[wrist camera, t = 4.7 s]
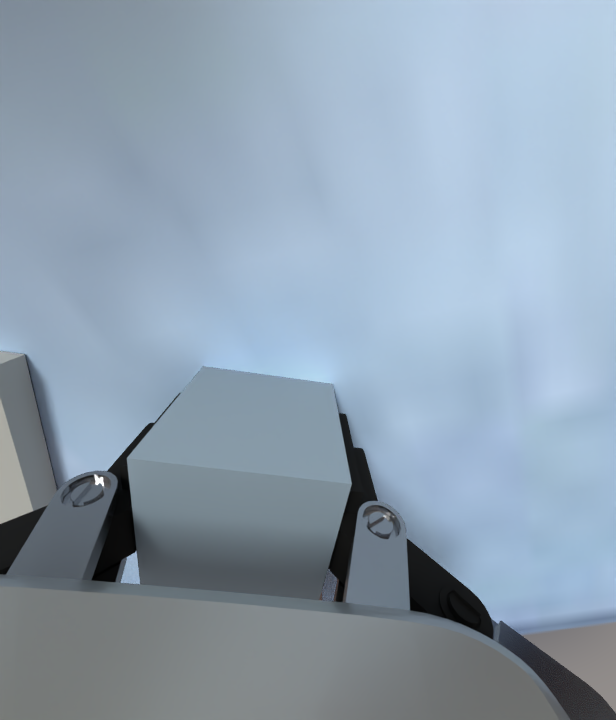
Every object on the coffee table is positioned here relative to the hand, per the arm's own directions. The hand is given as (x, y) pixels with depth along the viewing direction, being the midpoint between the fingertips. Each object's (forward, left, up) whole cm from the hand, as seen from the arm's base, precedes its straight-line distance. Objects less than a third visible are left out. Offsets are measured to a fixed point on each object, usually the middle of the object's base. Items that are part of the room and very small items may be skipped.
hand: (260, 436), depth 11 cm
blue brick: (0, 0, -1) cm, 1 cm away
